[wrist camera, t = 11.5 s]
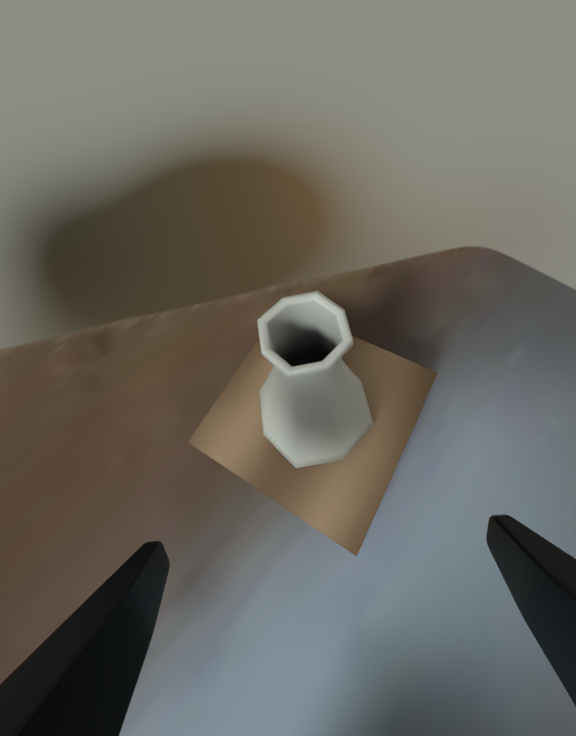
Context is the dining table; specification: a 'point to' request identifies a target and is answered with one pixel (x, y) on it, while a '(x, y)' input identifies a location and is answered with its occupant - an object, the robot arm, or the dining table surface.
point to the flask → (310, 382)
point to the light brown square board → (329, 480)
